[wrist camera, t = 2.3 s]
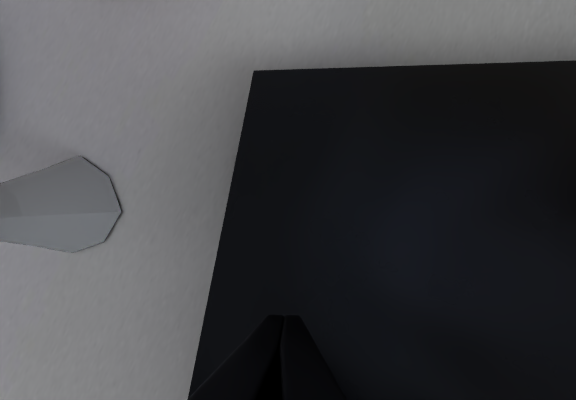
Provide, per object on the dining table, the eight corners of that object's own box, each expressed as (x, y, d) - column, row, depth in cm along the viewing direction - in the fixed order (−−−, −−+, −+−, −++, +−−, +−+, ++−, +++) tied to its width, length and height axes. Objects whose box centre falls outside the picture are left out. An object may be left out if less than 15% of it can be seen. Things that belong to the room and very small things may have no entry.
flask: (83, 139, 24) (-84, 111, 15) (138, 213, 24) (5, 236, 14) (22, 196, 26) (-173, 206, 16) (74, 267, 25) (-91, 323, 15)
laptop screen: (1372, 657, 7) (1482, 687, 7) (180, 475, 11) (170, 481, 10) (791, 66, 17) (812, 52, 16) (256, 80, 21) (253, 70, 20)
